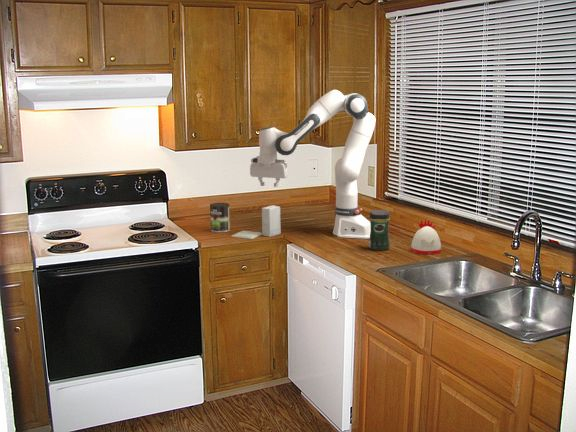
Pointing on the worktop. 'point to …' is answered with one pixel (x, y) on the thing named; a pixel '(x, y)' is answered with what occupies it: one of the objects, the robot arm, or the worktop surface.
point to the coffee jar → (379, 230)
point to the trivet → (247, 234)
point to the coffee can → (219, 217)
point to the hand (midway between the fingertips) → (269, 186)
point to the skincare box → (271, 221)
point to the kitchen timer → (426, 240)
